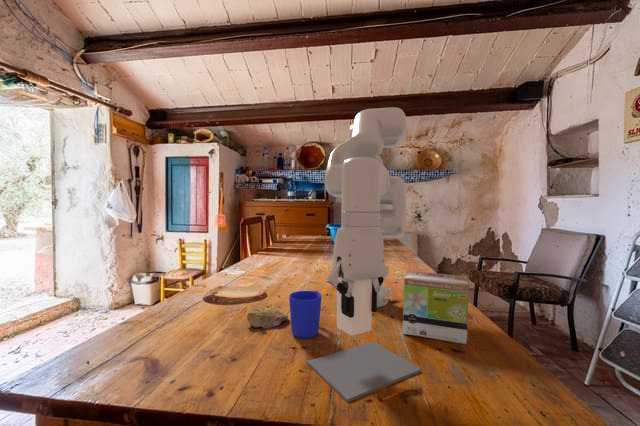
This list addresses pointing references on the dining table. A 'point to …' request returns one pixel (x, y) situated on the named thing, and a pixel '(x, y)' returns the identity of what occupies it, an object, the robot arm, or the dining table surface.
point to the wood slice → (234, 294)
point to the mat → (362, 370)
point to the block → (357, 309)
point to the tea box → (436, 306)
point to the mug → (305, 313)
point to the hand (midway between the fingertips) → (359, 311)
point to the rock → (266, 317)
